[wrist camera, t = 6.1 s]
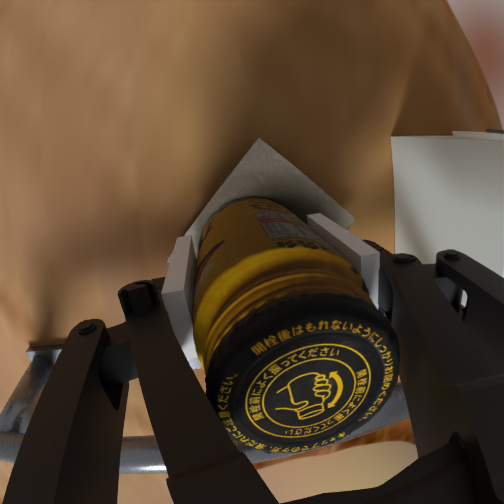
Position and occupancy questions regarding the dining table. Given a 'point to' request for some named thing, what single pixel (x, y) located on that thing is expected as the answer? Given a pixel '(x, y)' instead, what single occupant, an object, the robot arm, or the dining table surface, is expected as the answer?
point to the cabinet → (450, 196)
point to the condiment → (284, 314)
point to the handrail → (142, 447)
